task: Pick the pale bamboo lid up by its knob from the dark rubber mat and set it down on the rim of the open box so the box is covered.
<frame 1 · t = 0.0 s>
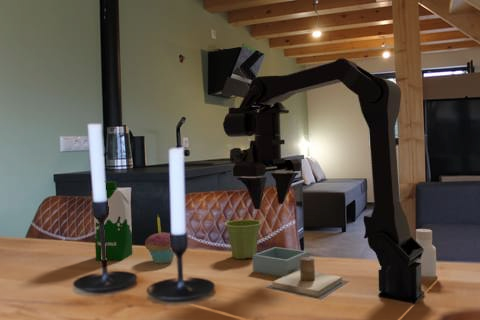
hand: (269, 206, 96), 15 cm above the table, fingers open, 9 cm apart
lid: (307, 284, 87), resting on mat
mat: (307, 286, 87), on the table
plant pot: (244, 257, 112), on the table
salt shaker: (424, 276, 91), on the table
milk carton: (114, 257, 115), on the table
cupcake: (162, 261, 110), on the table
open box: (281, 271, 98), on the table
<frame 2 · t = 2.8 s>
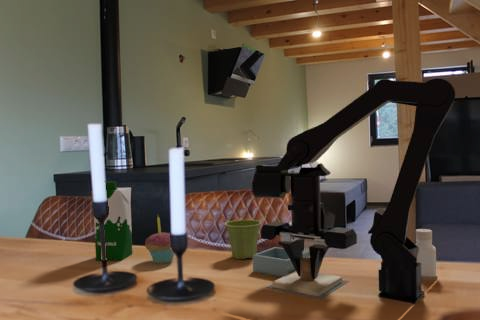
hand: (307, 277, 87), 2 cm above the table, fingers closed on lid, 3 cm apart
lid: (307, 284, 87), resting on mat, touching gripper
everything else where it was.
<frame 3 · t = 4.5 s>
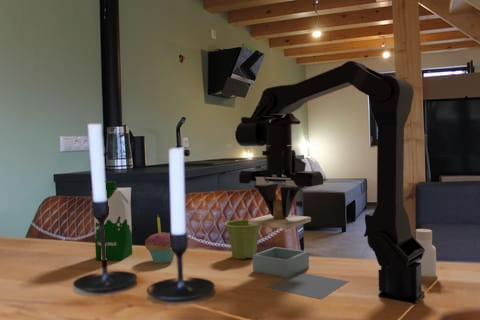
hand: (279, 216, 97), 12 cm above the table, fingers closed on lid, 3 cm apart
lid: (279, 222, 97), point 11 cm above the table, touching gripper
everything else where it was.
when the fingers open (6 cm above the table, at t = 6.2 s): lid drops 1 cm, resting on open box.
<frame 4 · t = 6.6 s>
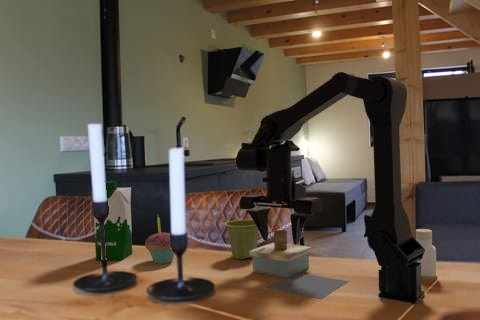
hand: (280, 242, 97), 6 cm above the table, fingers open, 8 cm apart
lid: (280, 253, 97), point 4 cm above the table, touching open box
everything else where it was.
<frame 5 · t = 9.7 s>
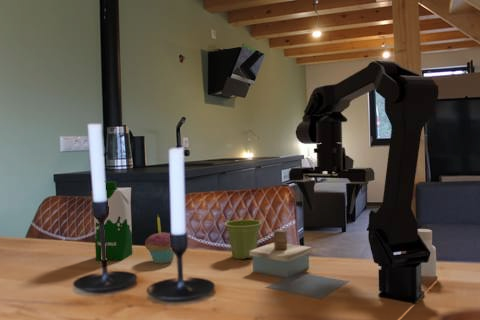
hand: (330, 212, 99), 13 cm above the table, fingers open, 9 cm apart
nothing on the table moved.
at the end: lid 0.1 cm from the open box (horizontally); lid point 4.0 cm above the table; lid tilted 0° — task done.
